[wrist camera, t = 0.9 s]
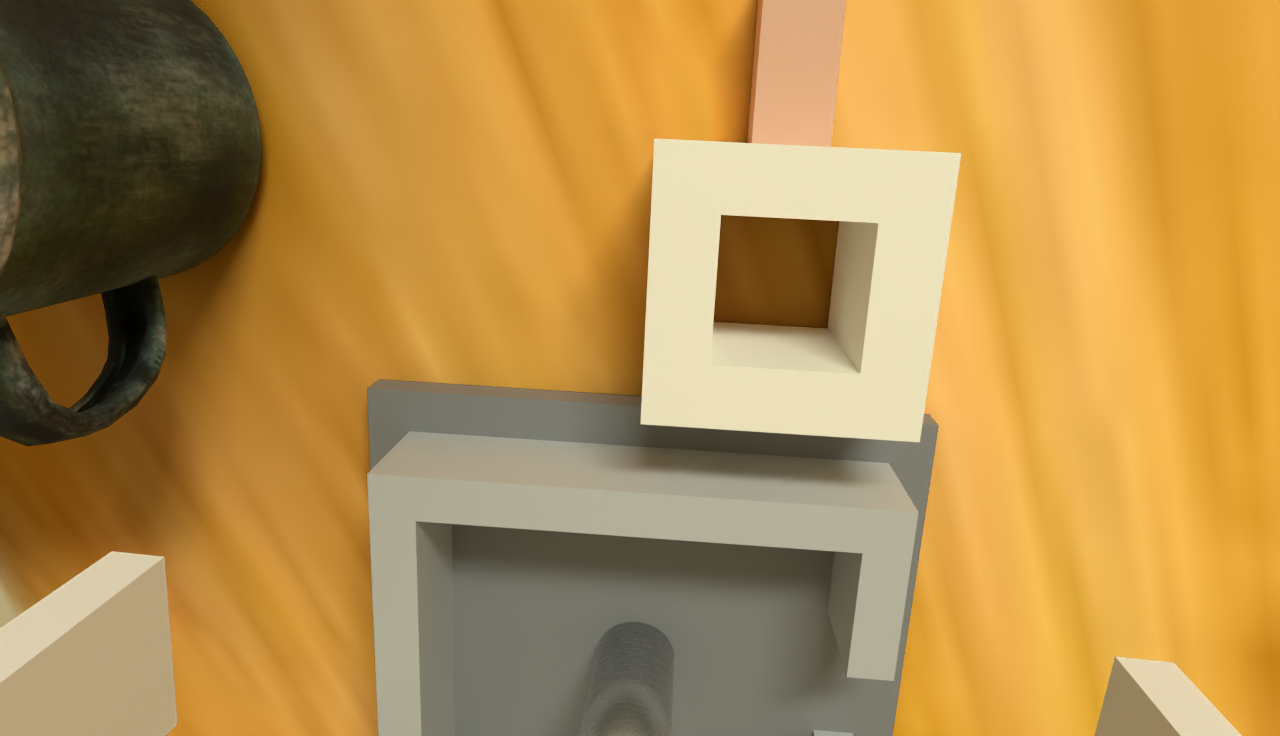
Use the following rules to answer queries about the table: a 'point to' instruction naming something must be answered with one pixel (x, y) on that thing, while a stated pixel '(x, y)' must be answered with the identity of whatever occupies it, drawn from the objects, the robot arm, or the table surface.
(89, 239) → the mug
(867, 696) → the grey walled tray
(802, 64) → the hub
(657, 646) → the post
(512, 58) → the table surface
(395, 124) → the table surface
